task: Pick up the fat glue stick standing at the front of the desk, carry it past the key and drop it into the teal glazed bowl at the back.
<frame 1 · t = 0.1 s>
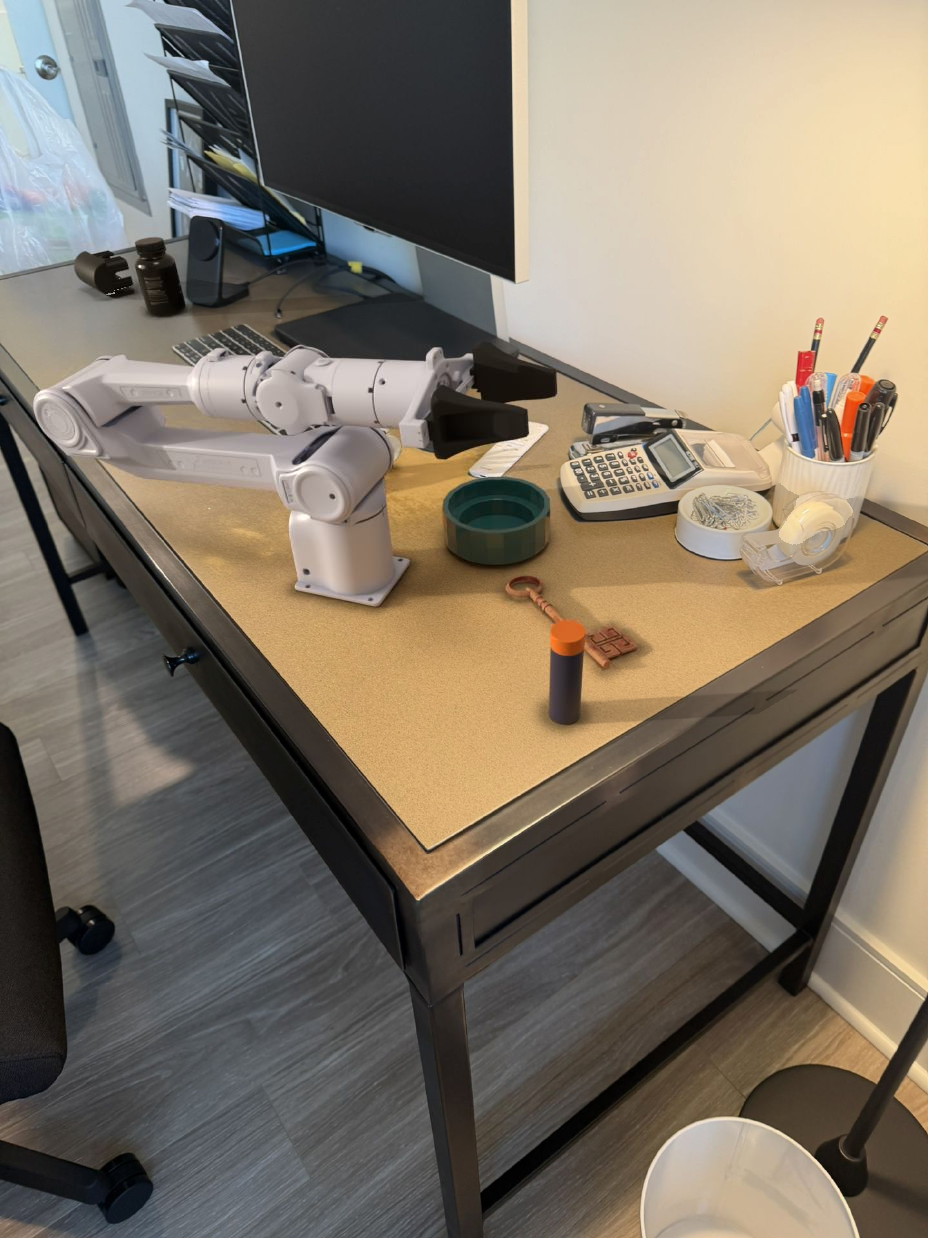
hand: (542, 402, 68), 22 cm above the table, tool horizontal, fingers open, 7 cm apart
eagle figurine: (363, 478, 104), on the table
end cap: (108, 293, 164), on the table
supplement bottle: (167, 311, 154), on the table
glue stick: (564, 713, 72), on the table
key: (566, 620, 81), on the table
bowl: (497, 539, 92), on the table
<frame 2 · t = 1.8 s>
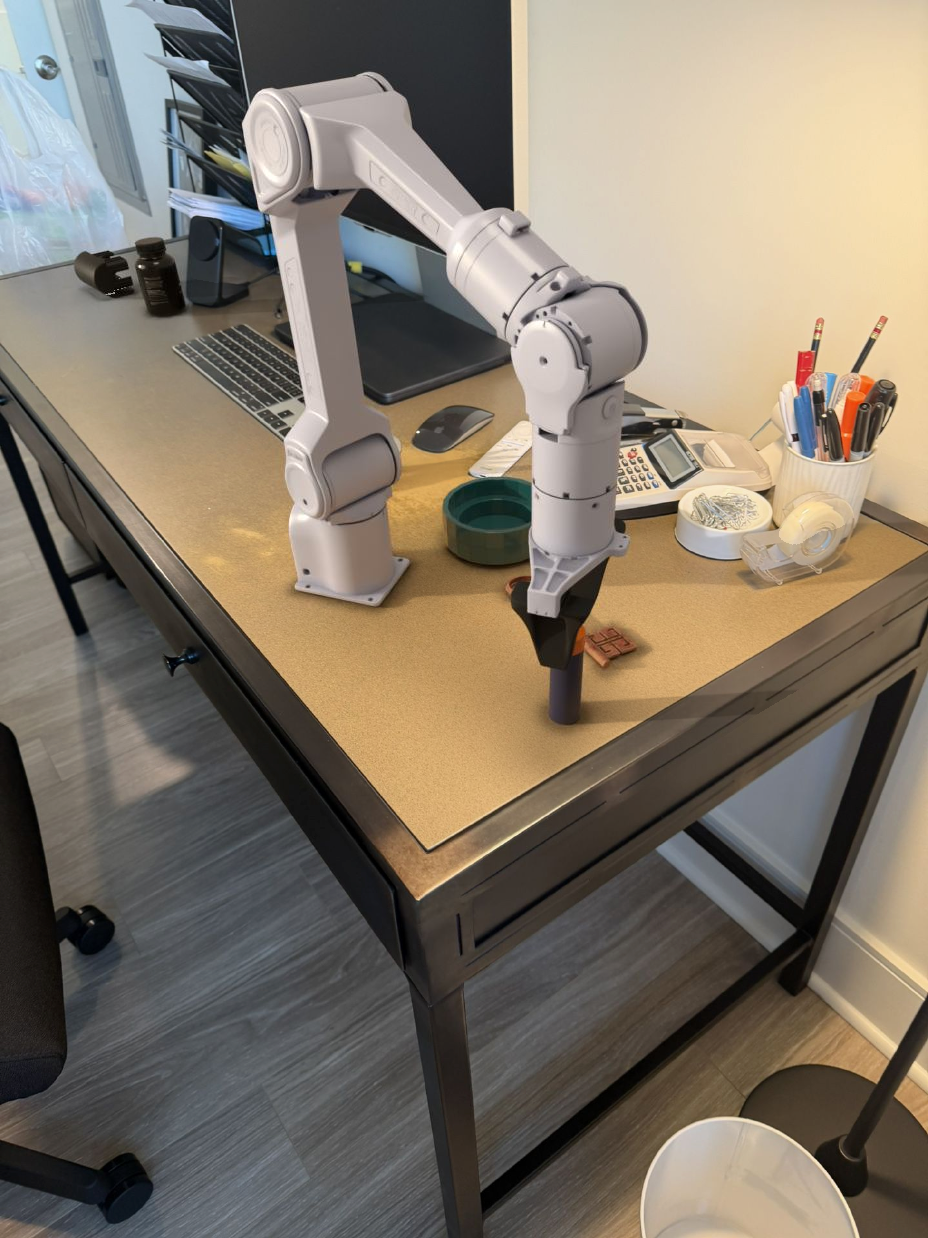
hand: (568, 633, 66), 9 cm above the table, tool pointing down, fingers open, 7 cm apart
nothing on the table moved.
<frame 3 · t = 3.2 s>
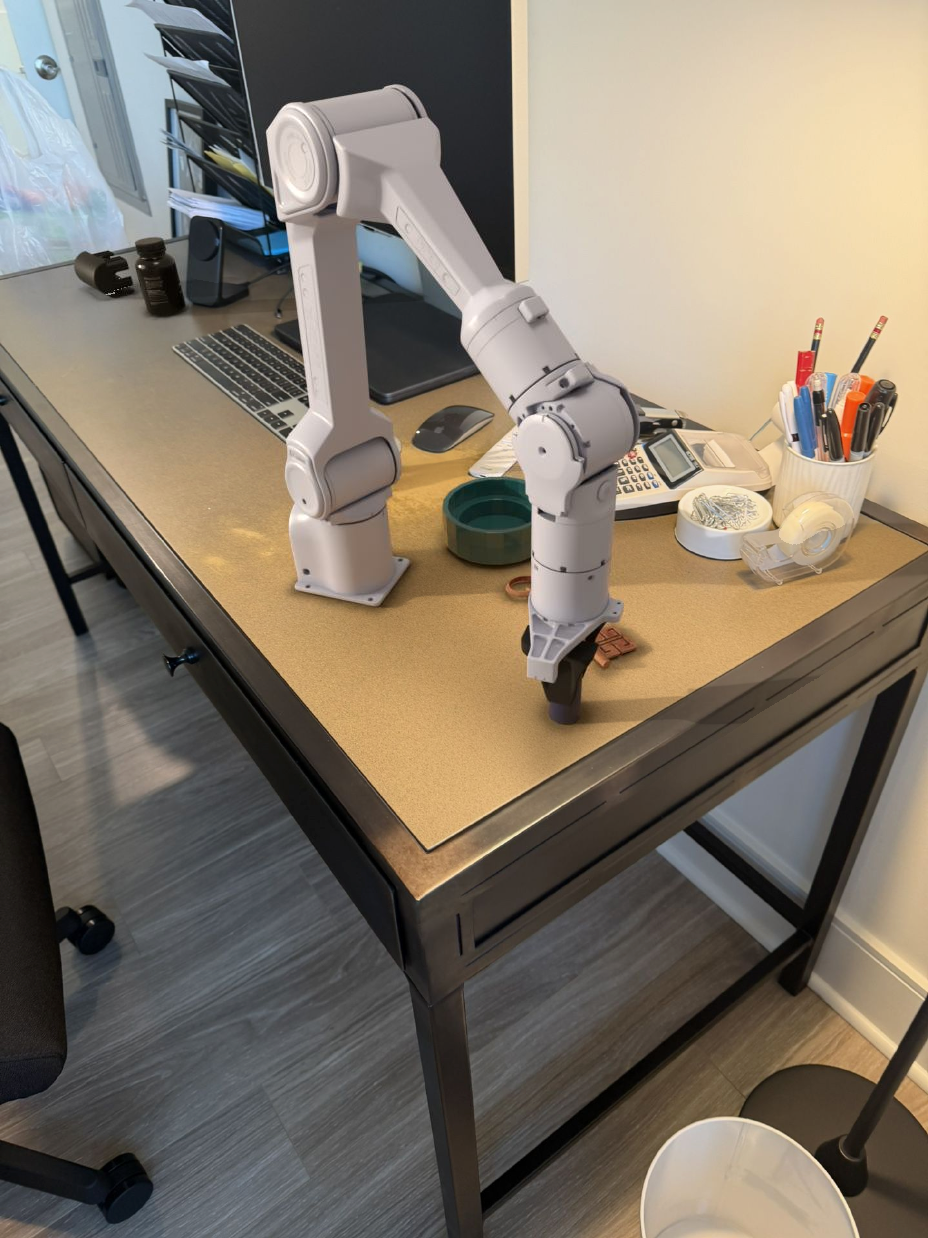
hand: (565, 688, 70), 3 cm above the table, tool pointing down, fingers closed on glue stick, 2 cm apart
glue stick: (564, 713, 72), on the table, touching gripper
everything else where it was.
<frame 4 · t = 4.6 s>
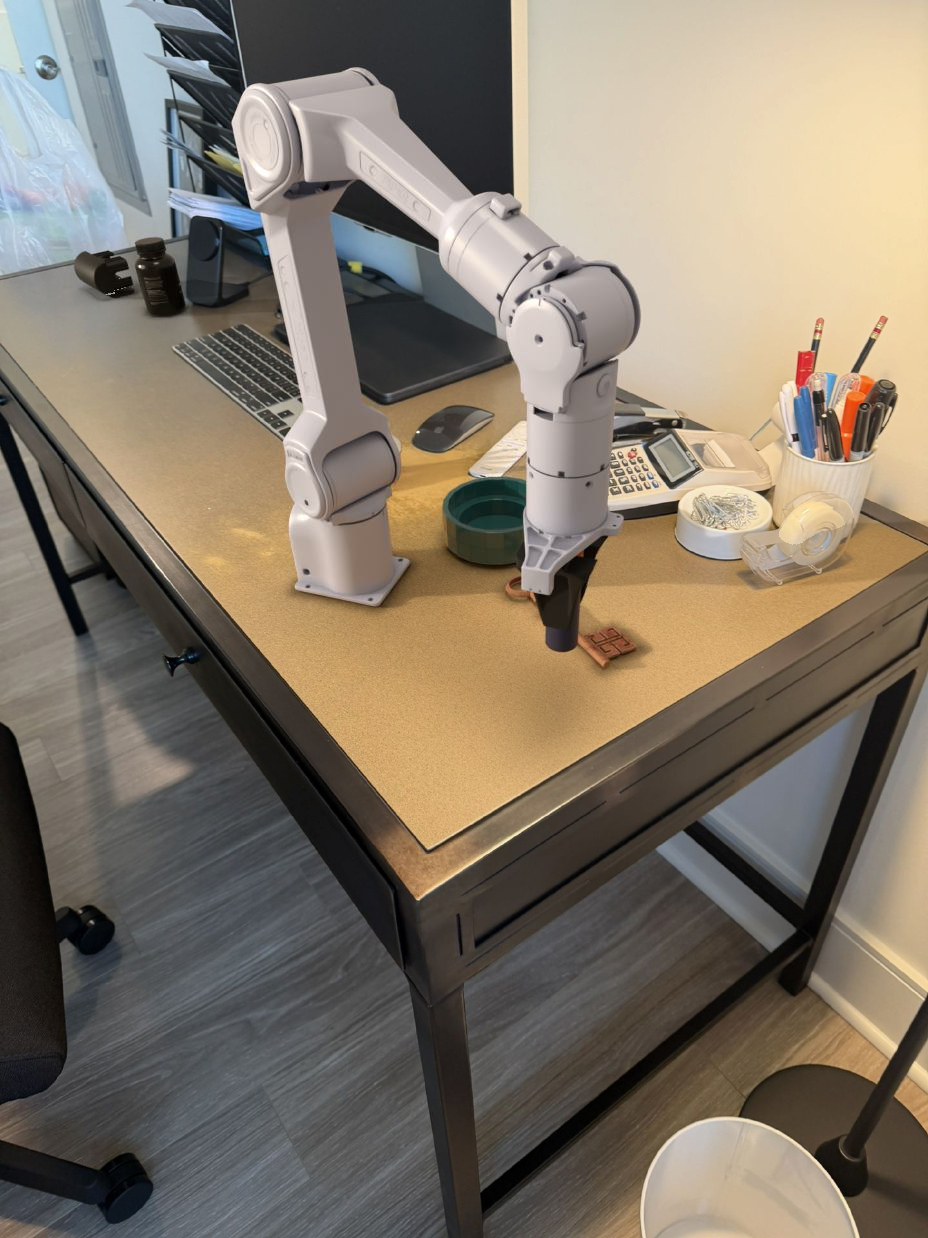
hand: (562, 613, 67), 10 cm above the table, tool pointing down, fingers closed on glue stick, 2 cm apart
glue stick: (561, 641, 69), point 7 cm above the table, touching gripper
everything else where it was.
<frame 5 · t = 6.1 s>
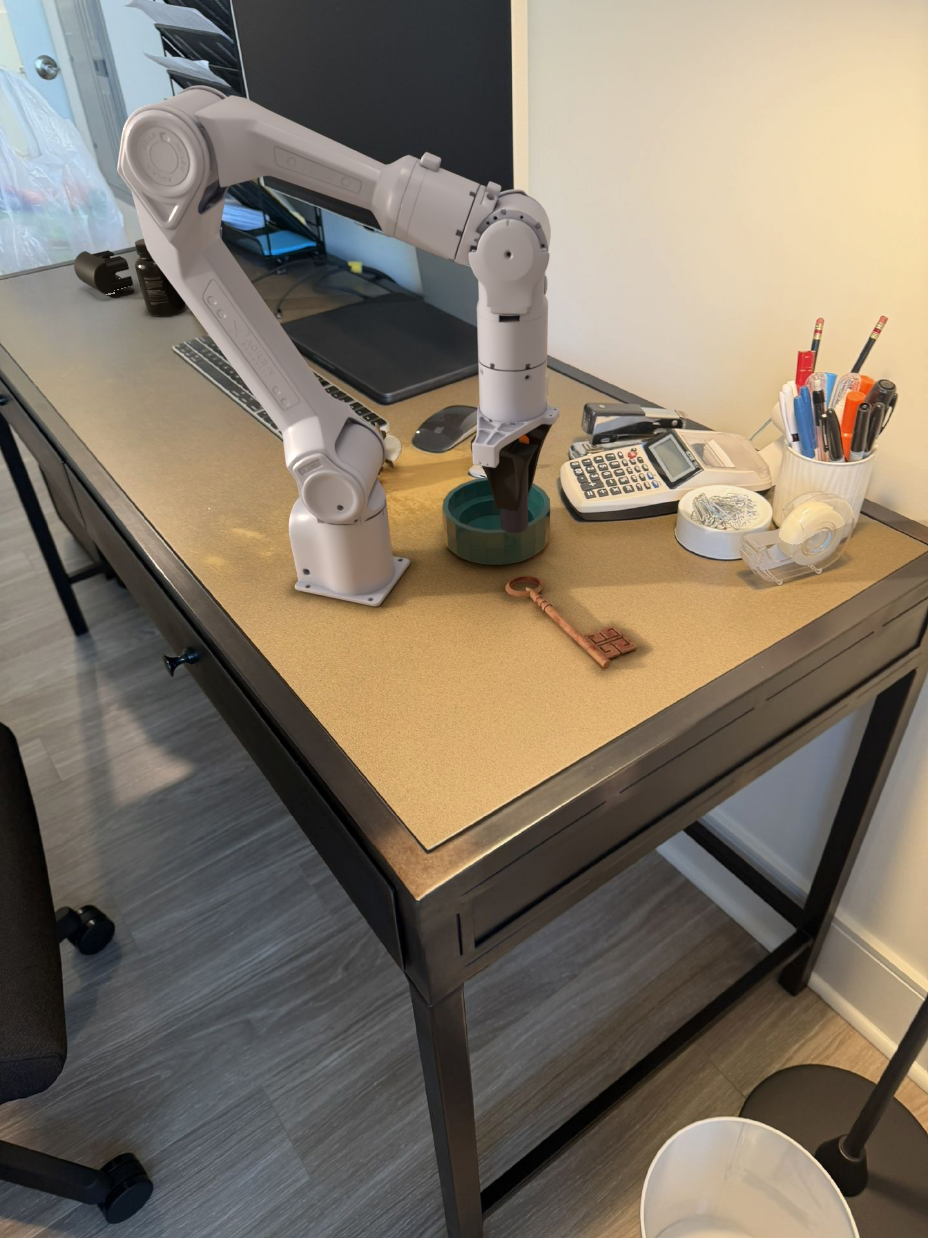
hand: (513, 499, 80), 10 cm above the table, tool pointing down, fingers closed on glue stick, 2 cm apart
glue stick: (514, 525, 81), point 7 cm above the table, touching gripper
everything else where it was.
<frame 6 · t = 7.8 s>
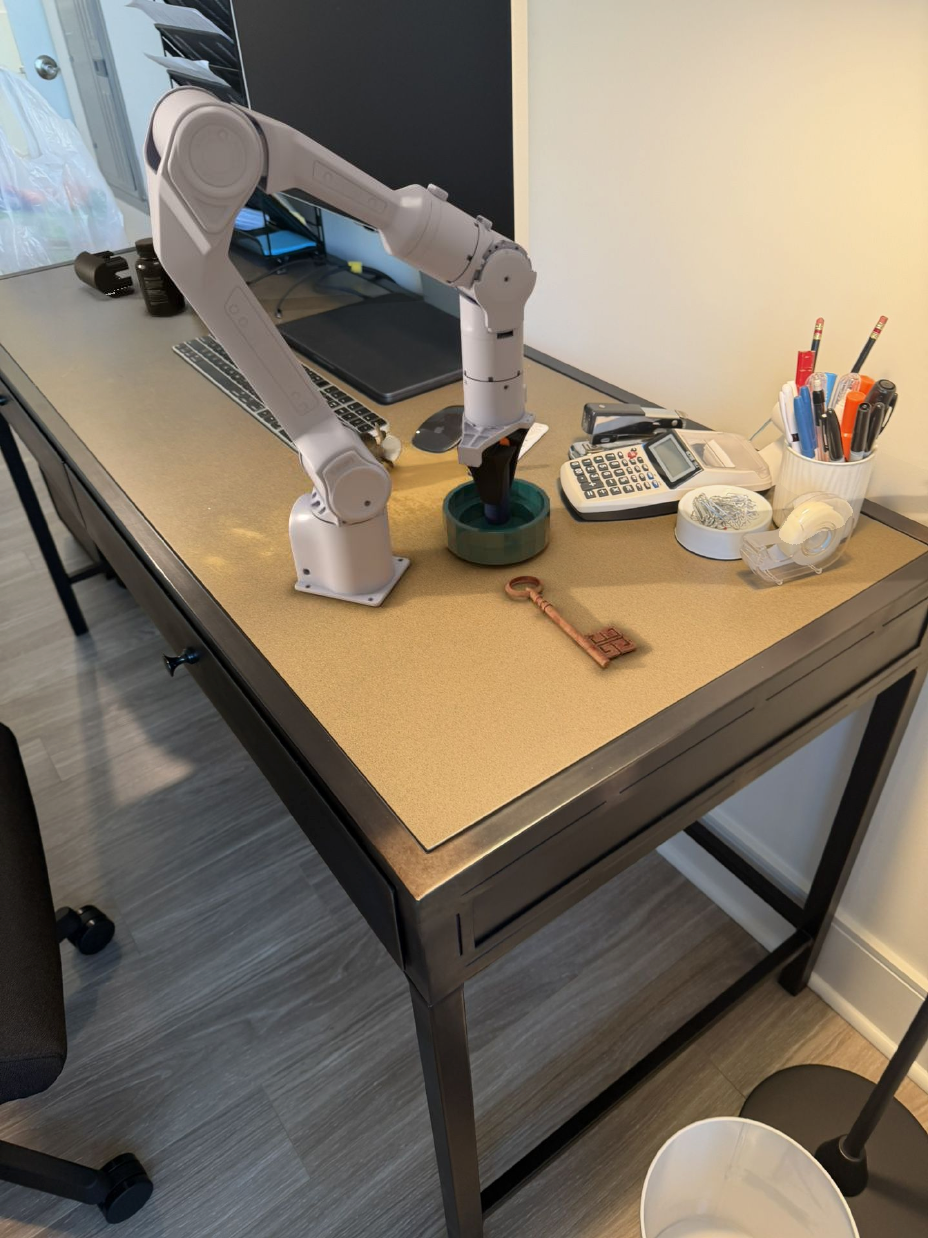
hand: (496, 495, 89), 5 cm above the table, tool pointing down, fingers closed on glue stick, 2 cm apart
glue stick: (497, 519, 91), point 3 cm above the table, touching gripper
everything else where it was.
when the fingers open (3 cm above the table, at t = 8.8 s): glue stick stays where it is, resting on bowl.
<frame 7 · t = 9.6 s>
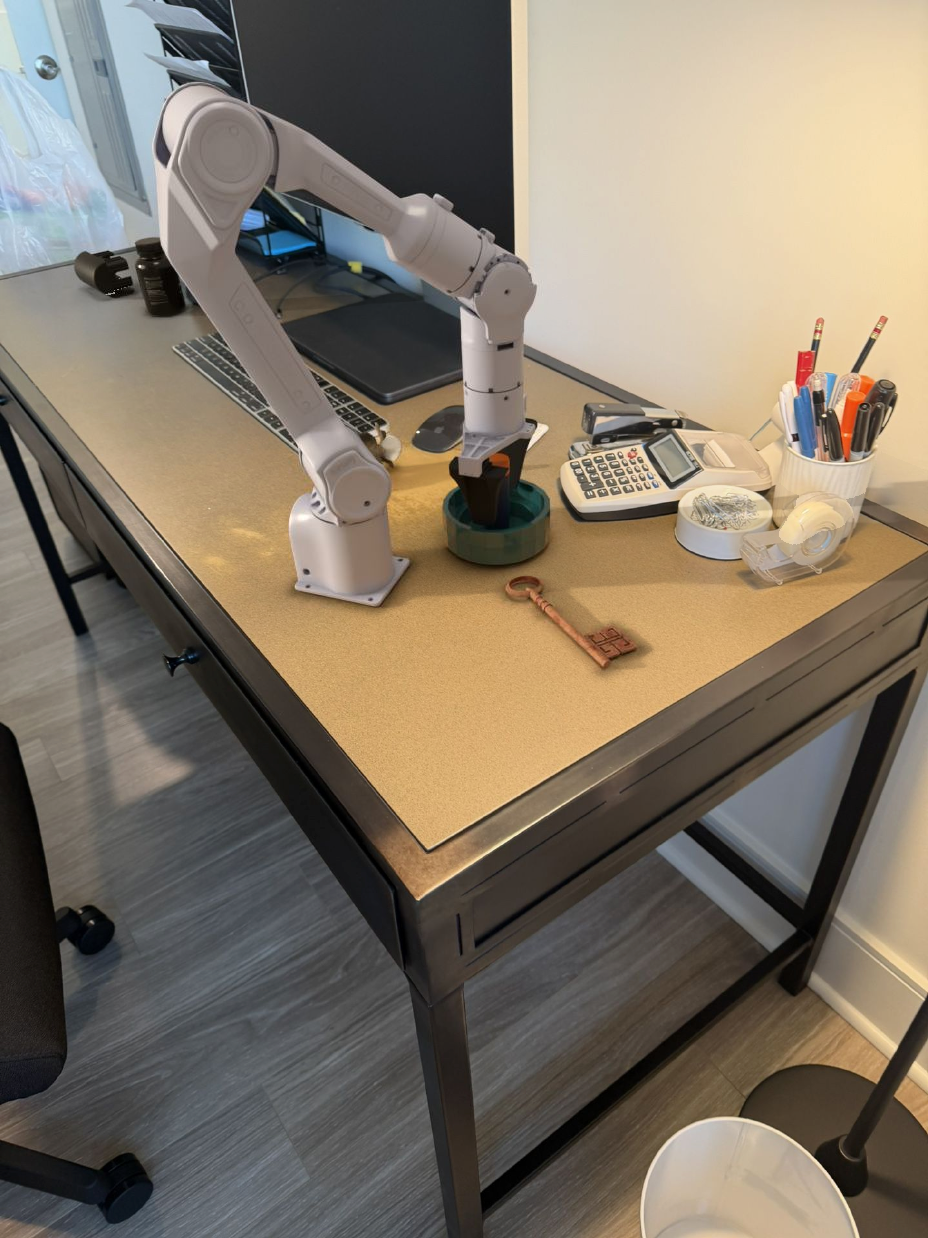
hand: (496, 504, 89), 4 cm above the table, tool pointing down, fingers open, 7 cm apart
glue stick: (497, 534, 92), point 1 cm above the table, touching bowl
everything else where it was.
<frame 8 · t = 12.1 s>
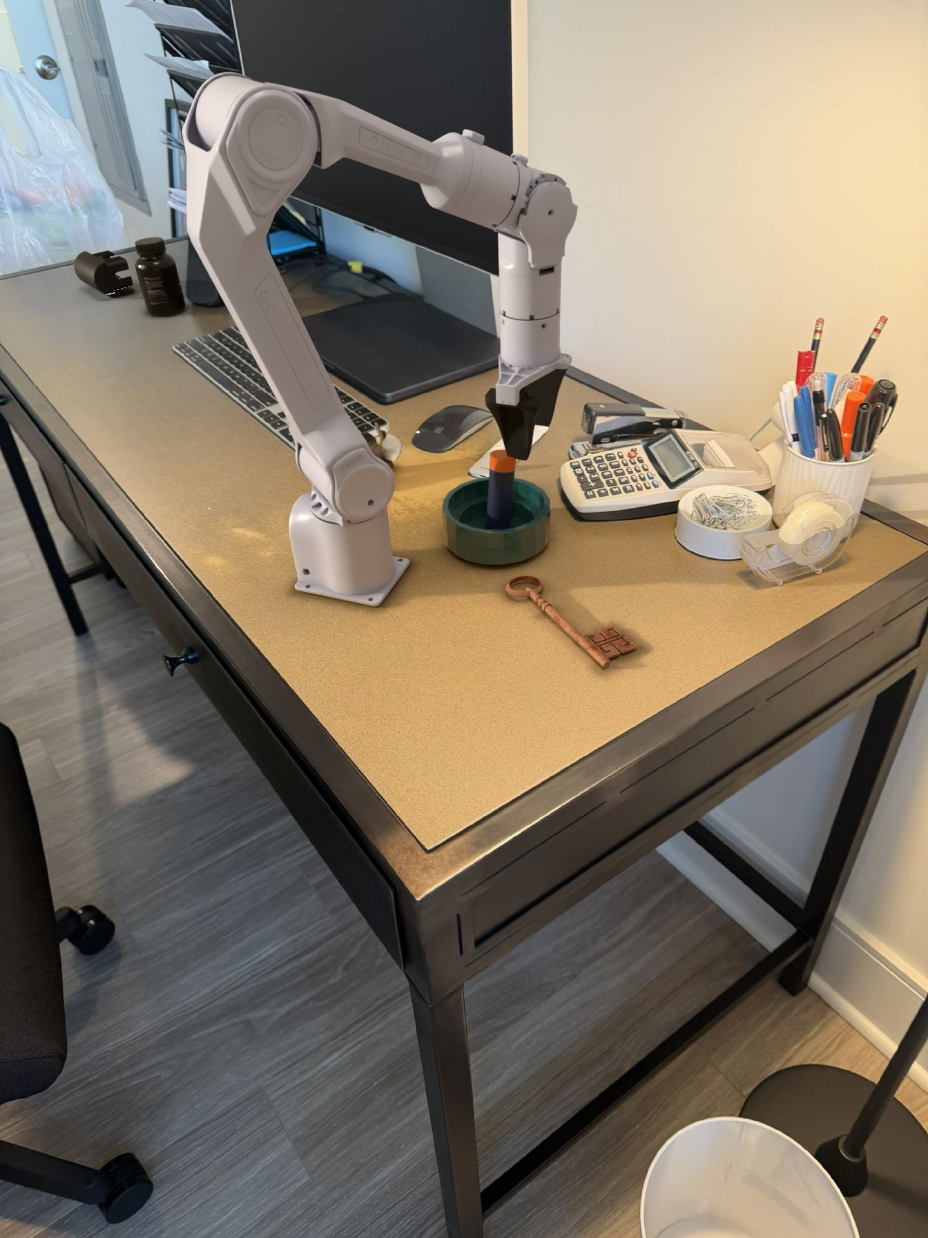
hand: (529, 440, 89), 9 cm above the table, tool pointing down, fingers open, 7 cm apart
glue stick: (497, 533, 92), point 1 cm above the table, tilted 7°, touching bowl, gripper
everything else where it was.
at the end: glue stick inside the target area in the bowl (0.1 cm from its centre), point 0.8 cm above the bowl's base; the gripper is holding nothing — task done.
